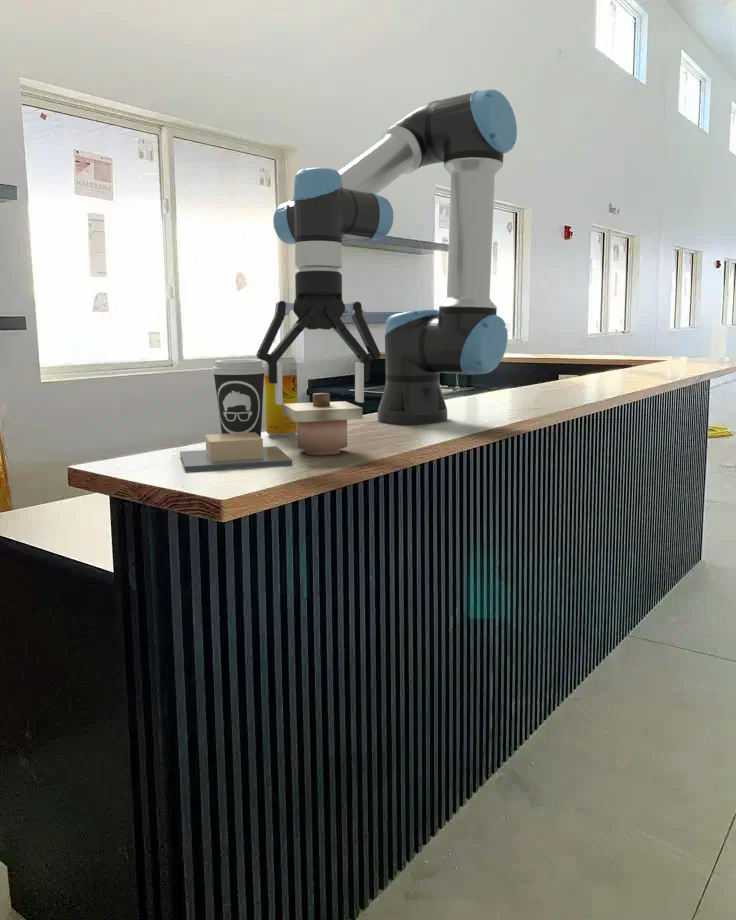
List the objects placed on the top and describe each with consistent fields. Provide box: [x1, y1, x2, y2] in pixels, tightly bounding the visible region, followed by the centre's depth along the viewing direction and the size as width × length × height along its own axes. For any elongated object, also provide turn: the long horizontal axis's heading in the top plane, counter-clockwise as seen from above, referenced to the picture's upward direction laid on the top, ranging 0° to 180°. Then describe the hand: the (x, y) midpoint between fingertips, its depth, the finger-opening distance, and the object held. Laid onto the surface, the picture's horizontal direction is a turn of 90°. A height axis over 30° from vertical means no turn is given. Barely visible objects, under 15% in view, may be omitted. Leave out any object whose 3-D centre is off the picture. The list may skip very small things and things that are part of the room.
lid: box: [283, 392, 364, 422], centre depth 130 cm, size 11×11×4 cm
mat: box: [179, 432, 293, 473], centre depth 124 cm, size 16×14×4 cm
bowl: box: [296, 420, 348, 456], centre depth 131 cm, size 8×8×6 cm
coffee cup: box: [210, 358, 267, 438], centre depth 137 cm, size 10×10×15 cm
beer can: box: [263, 355, 299, 439], centre depth 149 cm, size 6×6×15 cm
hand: (319, 403), depth 130 cm, fingers open, 13 cm apart
